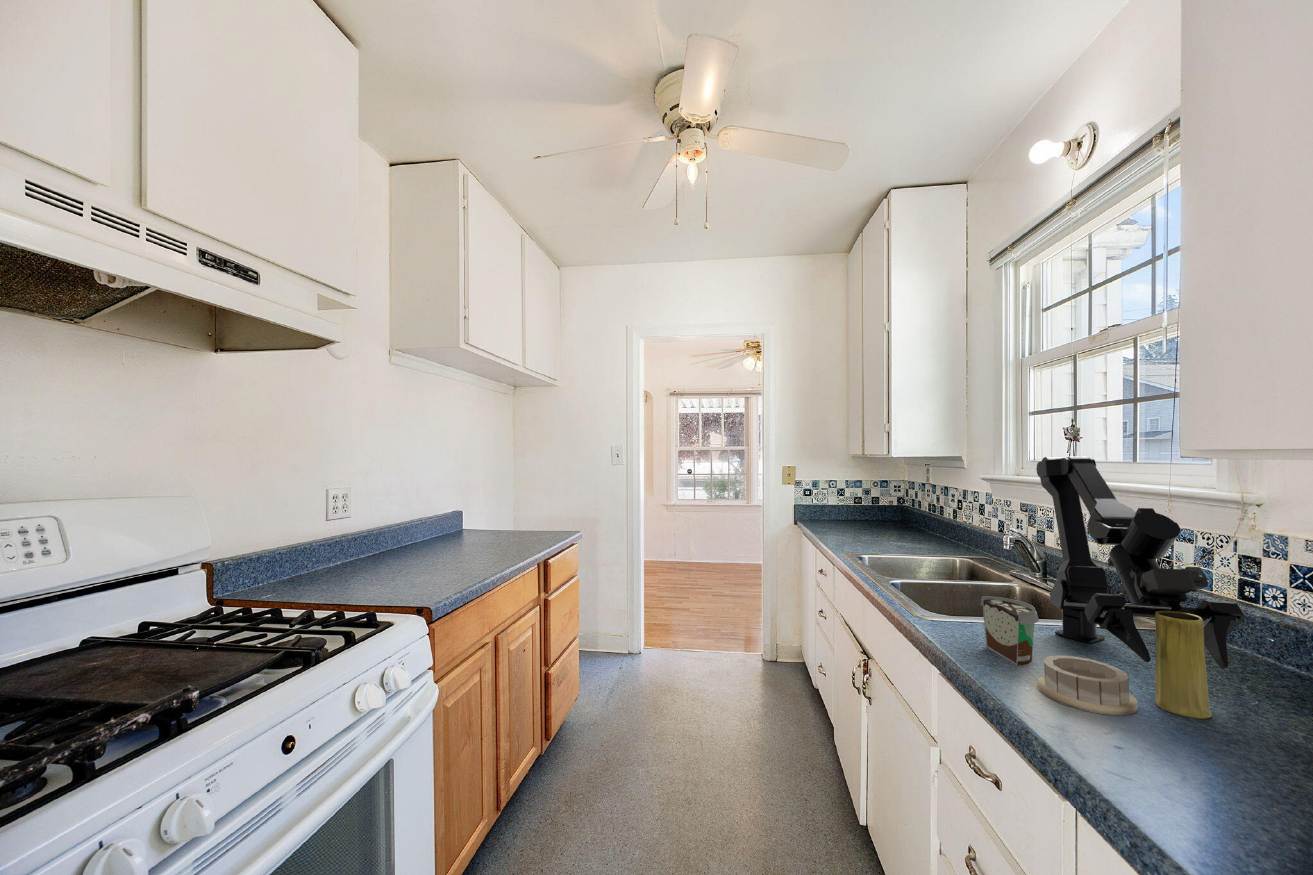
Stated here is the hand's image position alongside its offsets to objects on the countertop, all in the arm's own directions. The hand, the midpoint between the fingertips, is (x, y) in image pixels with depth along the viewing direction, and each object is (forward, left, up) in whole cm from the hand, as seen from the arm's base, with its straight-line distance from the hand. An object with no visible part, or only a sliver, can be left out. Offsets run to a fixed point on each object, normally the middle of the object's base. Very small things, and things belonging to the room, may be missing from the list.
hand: (1186, 664), depth 78 cm
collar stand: (+7, -10, -7) cm, 14 cm away
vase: (-1, -1, -7) cm, 8 cm away
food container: (-1, -25, -7) cm, 26 cm away
